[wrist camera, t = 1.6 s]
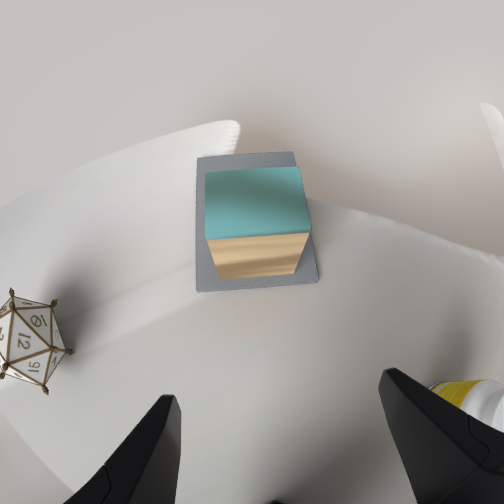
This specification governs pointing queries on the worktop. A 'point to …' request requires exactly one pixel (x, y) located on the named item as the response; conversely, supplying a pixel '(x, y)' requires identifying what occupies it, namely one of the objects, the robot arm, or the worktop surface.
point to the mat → (204, 261)
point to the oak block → (256, 221)
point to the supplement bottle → (476, 399)
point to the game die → (29, 340)
